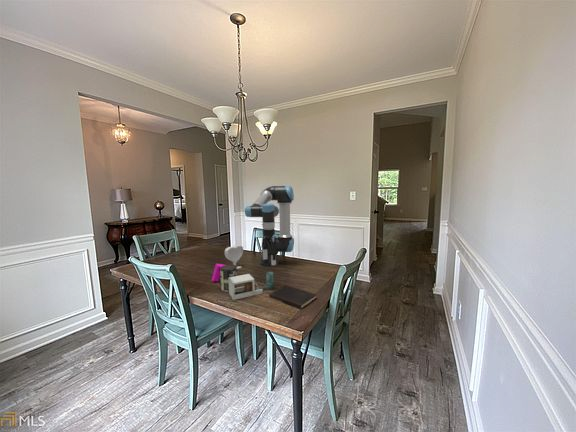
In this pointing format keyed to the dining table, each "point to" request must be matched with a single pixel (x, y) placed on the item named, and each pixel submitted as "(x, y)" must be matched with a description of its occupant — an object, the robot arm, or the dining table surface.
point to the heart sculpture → (234, 254)
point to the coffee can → (227, 276)
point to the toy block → (217, 272)
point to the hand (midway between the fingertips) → (269, 262)
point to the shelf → (239, 280)
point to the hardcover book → (293, 296)
